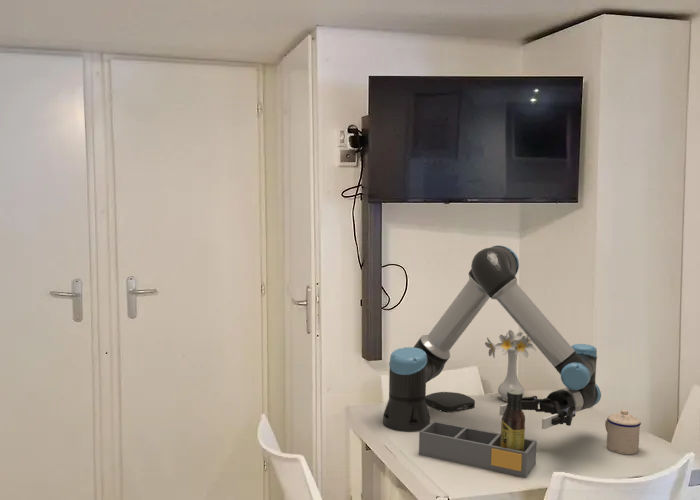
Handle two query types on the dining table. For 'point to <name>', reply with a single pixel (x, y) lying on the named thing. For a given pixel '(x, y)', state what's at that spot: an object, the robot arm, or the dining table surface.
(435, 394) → the media streaming box
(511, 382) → the flower vase
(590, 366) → the robot arm
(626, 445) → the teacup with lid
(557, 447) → the dining table surface
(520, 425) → the sauce bottle
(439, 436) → the caddy
